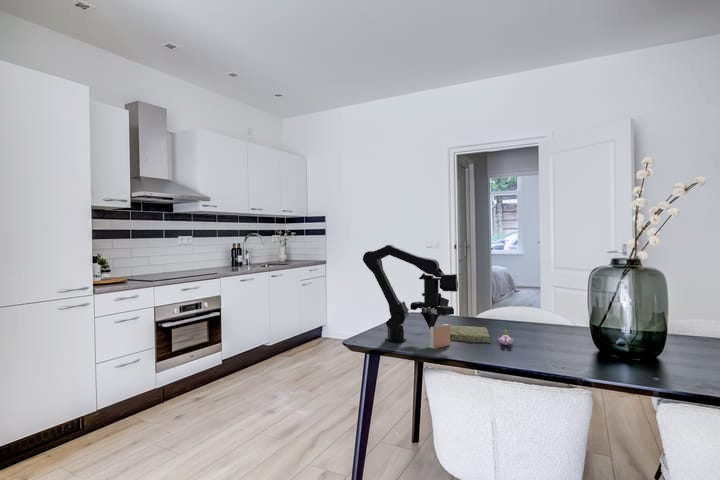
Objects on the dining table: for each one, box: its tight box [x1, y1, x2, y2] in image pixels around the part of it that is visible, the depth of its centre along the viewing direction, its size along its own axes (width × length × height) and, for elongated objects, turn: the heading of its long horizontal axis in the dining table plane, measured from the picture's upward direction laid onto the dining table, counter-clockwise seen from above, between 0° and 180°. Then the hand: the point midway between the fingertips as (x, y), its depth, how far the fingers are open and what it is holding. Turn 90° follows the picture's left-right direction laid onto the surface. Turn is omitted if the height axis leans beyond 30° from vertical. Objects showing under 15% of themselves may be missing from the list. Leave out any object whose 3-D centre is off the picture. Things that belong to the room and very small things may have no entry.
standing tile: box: [429, 323, 451, 349], centre depth 161 cm, size 2×9×8 cm, turn 127°
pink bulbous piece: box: [497, 329, 515, 346], centre depth 163 cm, size 6×6×15 cm
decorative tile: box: [450, 325, 491, 344], centre depth 176 cm, size 19×20×4 cm
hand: (431, 329), depth 164 cm, fingers closed
